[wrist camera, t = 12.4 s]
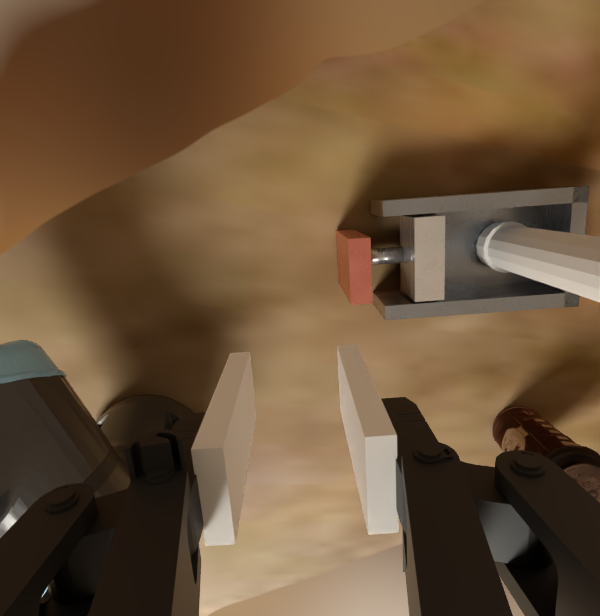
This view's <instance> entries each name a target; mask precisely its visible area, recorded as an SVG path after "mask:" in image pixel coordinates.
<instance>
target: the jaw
mask: <svg viewBox="0 0 600 616" xmlns="http://www.w3.org/2000/svg"><path fill="white" fill-rule="evenodd" d="M336 239H337V259H338V279H339V284H340V286H341V288H342V289H343V291H344V293H345V295H346V297H347V299H348V300H349V302H350V304H351V305H354V304H368V303H372V270H371V265H380V264H394V263H400V274H401V291H403V292H404V293H405V294H406V295H407V296H409V297H410V298H411V299H412V300H413V301H414V302H420V301H434V300H444V288H445V215H436V214H414V215H400V247H388V248H374V249H371V238H370V237H368V236H366V235H364V234H362V233H360V232H358V231H356V230H354V229H349V230H336Z"/></svg>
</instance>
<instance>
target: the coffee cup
mask: <svg viewBox="0 0 600 616" xmlns="http://www.w3.org/2000/svg"><path fill="white" fill-rule="evenodd" d="M493 437H494V439H495V441H496V442H497V443H498V444H499V446H500V448H501V449H502V451H503V452H507V451H511V450H524V451H528V452H529V451H530V452H534V453H537V454H539V455H542V456H544V457H547V458H548V459H550V460H551V461H553V462H554V463H556V464H557V465H558V466H559V467H560V468H561V469H562V470H564V471H565V472H566V473H567V474H568V475H569V476H570V477H571V478H573V479H574V480H575V481H576V482H577V483H578V484H579V485H580V486H582V487H583V488H584V489H585V490H586V491H587V492H588V493H589V494H590V495H592V496H593V497H594V498H595V499H596V500H597V501H598V502H599V503H600V455H599V454H598V453H597V452H595V451H594V450H592V449H590V448H587V447H584V446H580V445H578V444H576V443H575V442H574V441H572V440H571V439H570V438H569V437H568V436H565V435H564V434H562V433H561V432H560V431H558V430H557V429H555V428H554V427H553V426H552V425H551V424H549V422H548V421H546V420H544V419H542V418H541V417H540V415H539V414H538V413H537V412H535V411H534V410H532V409H529V408H526V407H511V408H509V409H506V410H504V411H503V412H502V413H501V414H500V415H499V416H498V417H497V418H496V420H495V422H494V424H493Z"/></svg>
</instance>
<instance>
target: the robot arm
mask: <svg viewBox="0 0 600 616" xmlns="http://www.w3.org/2000/svg"><path fill="white" fill-rule="evenodd" d="M337 353H338V372H339V392H340V410H341V415H342V419H343V424H344V428H345V433H346V437H347V442H348V446H349V451H350V455H351V460H352V464H353V468H354V473H355V477H356V482H357V486H358V491H359V495H360V500H361V504H362V509H363V513H364V518H365V522H366V526H367V531H368V535H372V534H386V533H399V526H398V516H399V519H400V522H401V525H402V528H403V572H405V573H406V584H407V593H408V604H409V615H410V616H513V615H512V612H511V609H510V606H509V604H508V600H507V598H506V595H505V592H504V589H503V586H502V583H501V580H500V577H501V579H502V580H503V582H504V583H505V585H506V587H507V588H508V590H509V591H510V593H511V595H512V596H513V598H514V599H515V601H516V602H517V604H518V606H519V607H520V609H521V610H522V612H523V613H524V615H525V616H600V503H599V502H598V501H597V500H596V499H595V498H594V497H593V496H592V495H590V494H589V493H588V492H587V491H586V490H585V489H584V488H583V487H582V486H580V485H579V484H578V483H577V482H576V481H575V480H574V479H573V478H571V477H570V476H569V475H568V474H567V473H566V472H565V471H564V470H562V469H561V468H560V467H559V466H558V465H557V464H556V463H554V462H553V461H551V460H550V459H548V458H547V457H544V456H542V455H539V454H537V453H534V452H530V451H529V452H528V451H524V450H511V451H507V452H503V453H501V454H500V455H499V456H497V457H496V462H495V467H489V466H481V465H474V464H469V463H465V462H462V461H460V459H459V456H458V455H457V453H456V452H455V450H454V449H452V448H451V447H449V446H447V445H445V444H442V443H439V442H438V441H437V439H436V437H435V436H434V434H433V432H432V430H431V429H430V427H429V425H428V424H427V422H425V419H424V417H423V415H421V412H420V410H419V409H418V407H417V405H416V404H415V403H413V402H412V401H410V400H409V399H407V398H405V397H399V398H385V399H381V398H380V395H379V393H378V391H377V388H376V386H375V384H374V382H373V379H372V377H371V375H370V373H369V370H368V368H367V366H366V363H365V361H364V359H363V357H362V354H361V352H360V350H359V348H358V345H357V344H349V345H337ZM65 377H66V374H65V373H64V372H63V371H61V370H59V369H58V368H57V366H56V365H55V364H54V363H53V361H52V360H51V359H50V358H49V356H48V355H47V354H46V352H45V351H44V350H43V349H42V347H40V346H39V345H38V344H36V343H34V342H31V341H27V340H17V341H12V342H8V343H4V344H1V345H0V616H199V597H200V575H201V556H200V549H199V541H200V537H201V533H202V530H203V535H204V541H205V546H218V545H232V544H236V538H237V532H238V526H239V520H240V514H241V508H242V502H243V496H244V490H245V484H246V478H247V472H248V466H249V460H250V454H251V448H252V442H253V436H254V430H255V424H256V418H257V414H256V404H255V395H254V385H253V376H252V366H251V357H250V352H238V353H230V355H229V357H228V360H227V362H226V365H225V367H224V369H223V372H222V374H221V377H220V379H219V382H218V384H217V387H216V389H215V392H214V394H213V396H212V399H211V401H210V404H209V406H208V409H207V411H206V413H193V412H192V411H190V410H189V409H188V408H186V407H185V406H183V405H182V404H180V403H178V402H176V401H174V400H171V399H168V398H165V397H161V396H154V395H140V396H134V397H130V398H127V399H124V400H122V401H120V402H118V403H116V404H114V405H113V406H111V407H110V408H109V409H108V410H107V411H106V412H105V413H104V414H103V415H102V416H101V417H100V418H99V420H98V421H97V422H96V421H95V420H94V418H93V417H92V415H91V414H90V413H89V411H88V410H87V408H86V407H85V405H84V404H83V402H82V401H81V400H80V398H79V397H78V395H77V394H76V392H75V391H74V389H73V388H72V387H71V385H70V384H69V382H68V381H67V379H66V378H65ZM499 576H500V577H499Z"/></svg>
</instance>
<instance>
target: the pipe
mask: <svg viewBox="0 0 600 616" xmlns="http://www.w3.org/2000/svg"><path fill="white" fill-rule="evenodd" d="M476 247H477V255H478V257H479V259H480V260H481V262H482V263H484V264H485V265H486V266H488V267H490V268H492V269H493V270H495V271H498V272H503V273H509V272H512V273H515V274H518V275H521V276H524V277H527V278H530V279H533V280H536V281H539V282H542V283H545V284H548V285H550V286H553V287H556V288H559V289H562V290H565V291H568V292H571V293H574V294H577V295H580V296H583V297H586V298H588V299H591V300H594V301H597V302H600V237H598V236H590V235H582V234H574V233H567V232H559V231H551V230H544V229H536V228H528V227H526V226H525V225H523V224H522V223H517V222H513V221H508V222H498V223H493V224H491V225H490V226H488V227H487V228H485V229H484V231H483V232H482V233H481V234H480V236H479V238H478V241H477V244H476Z"/></svg>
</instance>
